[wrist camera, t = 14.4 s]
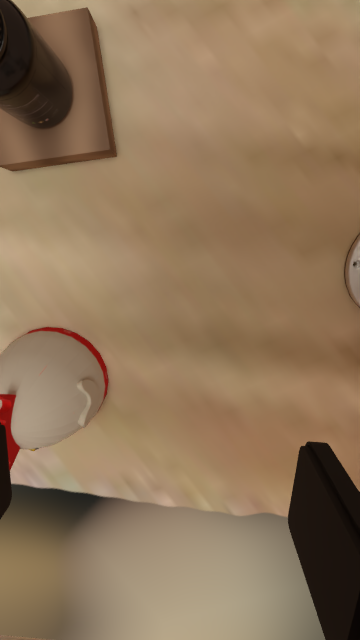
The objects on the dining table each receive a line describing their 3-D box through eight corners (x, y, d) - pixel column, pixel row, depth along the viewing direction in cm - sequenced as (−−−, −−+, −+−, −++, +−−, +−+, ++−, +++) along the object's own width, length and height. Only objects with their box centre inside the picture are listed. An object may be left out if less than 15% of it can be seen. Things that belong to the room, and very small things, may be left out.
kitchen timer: (9, 420, 45) (-79, 508, 30) (0, 324, 41) (-104, 372, 27) (108, 426, 45) (68, 518, 30) (108, 330, 41) (62, 382, 27)
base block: (96, 27, 33) (87, 7, 30) (116, 156, 36) (110, 149, 33) (-16, 46, 34) (-36, 29, 31) (12, 171, 37) (-3, 165, 34)
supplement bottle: (-5, 62, 31) (-121, -39, 20) (62, 42, 31) (-18, -75, 19) (19, 139, 33) (-74, 87, 21) (83, 121, 32) (22, 57, 21)
